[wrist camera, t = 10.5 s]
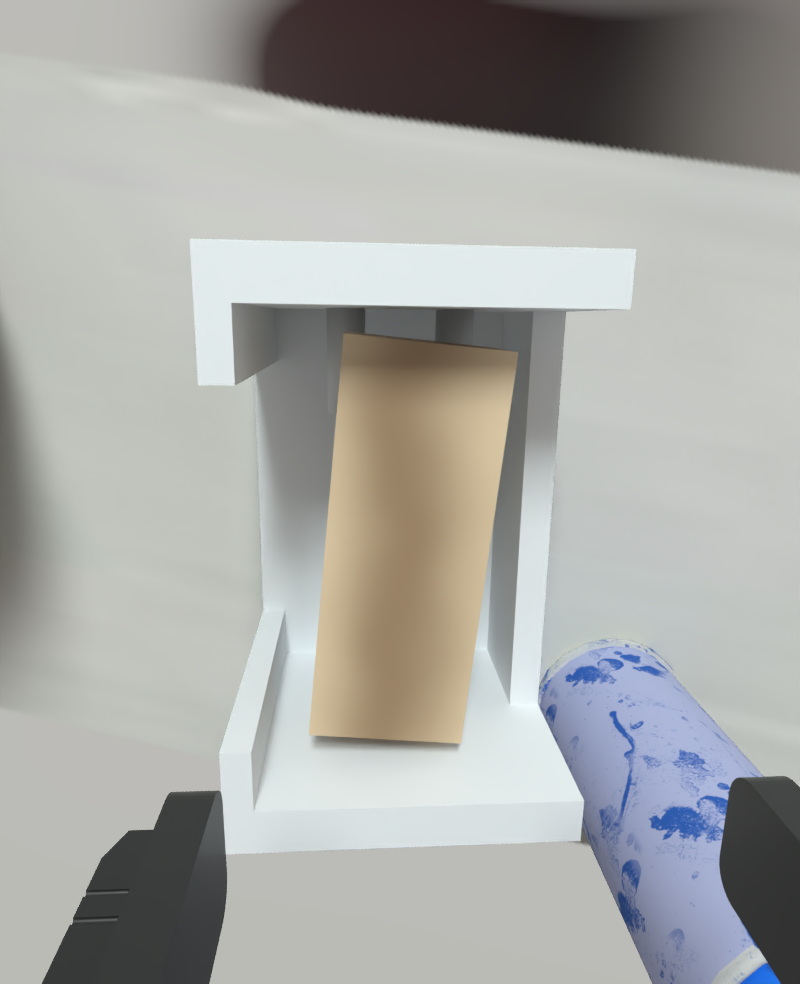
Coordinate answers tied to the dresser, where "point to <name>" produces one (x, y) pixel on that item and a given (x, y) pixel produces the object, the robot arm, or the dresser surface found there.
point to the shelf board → (408, 535)
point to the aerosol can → (654, 807)
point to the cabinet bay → (303, 523)
